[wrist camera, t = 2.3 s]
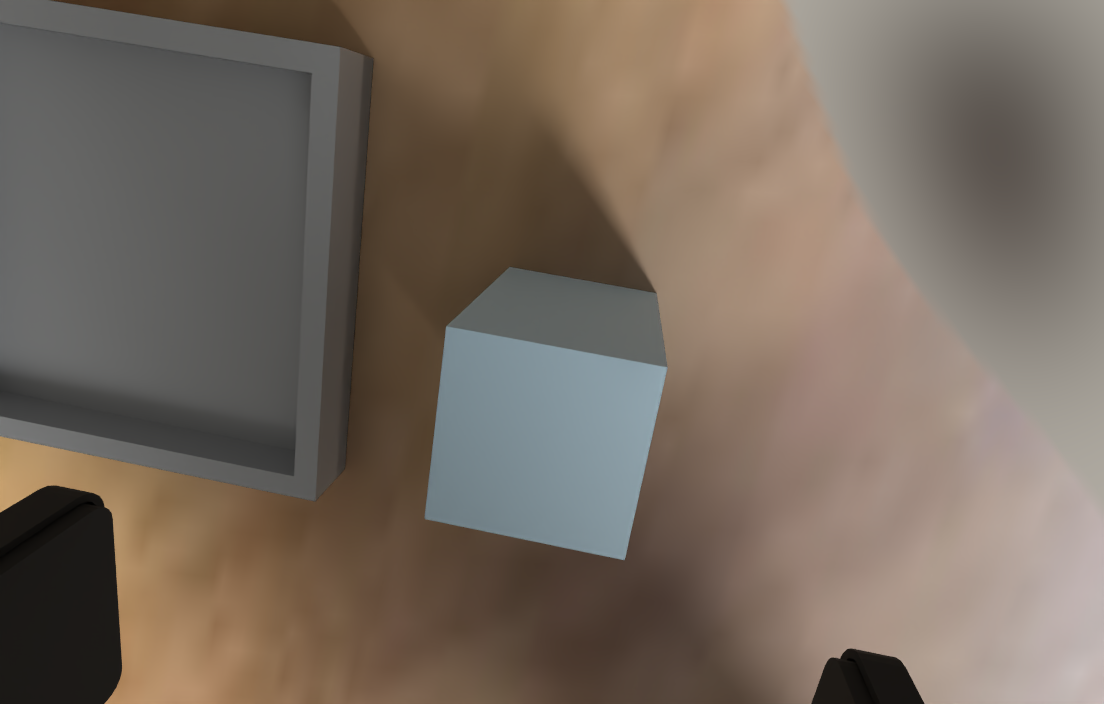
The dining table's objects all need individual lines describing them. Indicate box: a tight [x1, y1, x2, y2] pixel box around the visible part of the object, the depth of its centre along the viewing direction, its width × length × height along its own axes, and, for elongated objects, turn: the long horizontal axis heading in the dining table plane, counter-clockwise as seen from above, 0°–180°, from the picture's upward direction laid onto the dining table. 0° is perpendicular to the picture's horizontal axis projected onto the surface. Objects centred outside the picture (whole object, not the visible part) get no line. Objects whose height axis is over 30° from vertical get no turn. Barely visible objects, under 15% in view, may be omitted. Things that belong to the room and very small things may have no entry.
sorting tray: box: [0, 0, 374, 501], centre depth 23 cm, size 15×15×2 cm
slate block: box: [425, 267, 667, 560], centre depth 19 cm, size 5×5×8 cm
